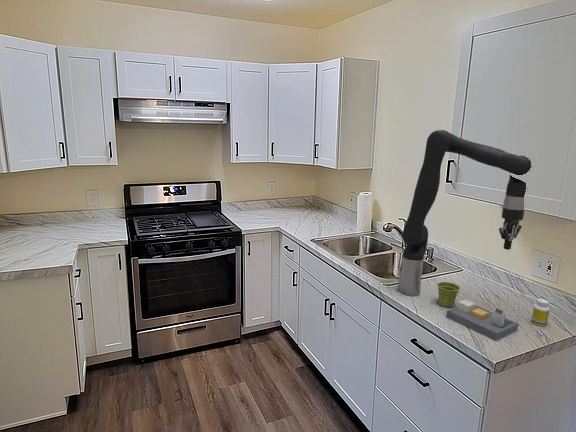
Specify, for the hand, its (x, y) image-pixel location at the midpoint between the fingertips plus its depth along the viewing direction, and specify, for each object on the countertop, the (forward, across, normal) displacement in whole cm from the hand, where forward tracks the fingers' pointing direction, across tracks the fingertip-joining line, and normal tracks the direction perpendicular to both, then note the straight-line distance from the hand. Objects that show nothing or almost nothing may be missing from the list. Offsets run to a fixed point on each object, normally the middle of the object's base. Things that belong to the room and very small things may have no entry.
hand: (506, 249), depth 158 cm
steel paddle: (+26, +15, +8) cm, 31 cm away
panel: (+29, +13, +1) cm, 32 cm away
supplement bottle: (+29, -8, +13) cm, 33 cm away
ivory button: (+27, +13, -6) cm, 31 cm away
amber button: (+28, +13, 0) cm, 31 cm away
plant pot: (+29, +10, -17) cm, 35 cm away
